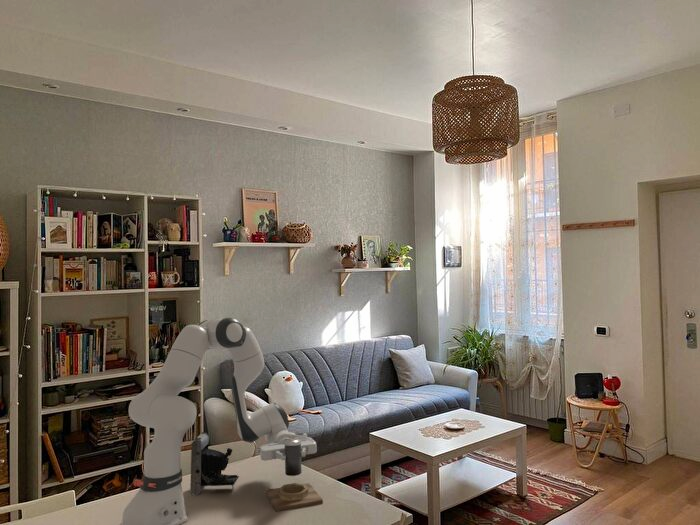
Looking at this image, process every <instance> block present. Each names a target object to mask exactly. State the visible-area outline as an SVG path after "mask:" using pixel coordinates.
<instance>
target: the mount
mask: <svg viewBox="0 0 700 525" xmlns="http://www.w3.org/2000/svg"><path fill="white" fill-rule="evenodd" d="M265 495H266V496H267V499H268V500H269V502H270V503H271V505H272V507H273V509H274V511H275V512H279V511H280V512H281V511H287V510H291V509H298V508H304V507H308V506H314V505H318V504H319V505H320V504H323V503H324V502H323V501H324V500H323V498H322V497H321V496H320V494H319V493H318V492H317V491H316V490H315V488H314V487H313V486H312V484H310V483H309V482H307V483H306V482H305V483H296V482H293V483H287V484H283V485H282V486H280V487H275V488H270V489H265Z"/></svg>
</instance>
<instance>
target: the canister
mask: <svg viewBox="0 0 700 525" xmlns="http://www.w3.org/2000/svg"><path fill="white" fill-rule="evenodd" d="M284 445H285V455H286V457H285V458H286V460H284V470H285V472H284V473H285V475H286V476H289V477H295V476H300V475H301V474H302V457H301V440H300V439H297V438H291V439H287V440H285V441H284Z"/></svg>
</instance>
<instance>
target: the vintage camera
mask: <svg viewBox="0 0 700 525" xmlns="http://www.w3.org/2000/svg"><path fill="white" fill-rule="evenodd" d="M209 439H210V436H209V434H208V433H207V432H204V431H201V433H200V434H199V435H198V436H197V437H196V438H194V440H193V441H192V443H191V450H190V451H191V454H190V493H191V495H192V496H198V495H199V494H200V493H201V492H202V491H203V489H204V488H205V487H218V486H219V487H221V486H232V491H234V486H235V484H236V483H237V481H238V479H239V478H240V475H238V474H223V473H222V471H223V472H224V471H226V468H227V467H228V464H229V460H230V458H229V457H230V456H231V455H232V452H233V448H230V447H228V448H226V452H225V453H223V452H222V451H219V450H215V449H211V448H209V442H210V440H209Z"/></svg>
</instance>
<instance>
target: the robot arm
mask: <svg viewBox="0 0 700 525" xmlns="http://www.w3.org/2000/svg"><path fill="white" fill-rule="evenodd" d="M179 332H180V333H179V334H178V336H176V339H175V340H174V343H173V344H172V345H171V349H170V350H169V352H168V354H167V357H166V359H165V361H164V363H163V365H162V367H161V369H160V371H159V372H158V374H157V376H156V377H155V378H154V380H152V382H151V383H150V384H149V385H148V386H147V388H145V389H144V390H142V392H141V393H139V394H136V395H135V396H134V397H133V398H132V400H131V401H130V402H129V406H128V416H129V418H130V420H132V421H133V422H134V423H136V424H138V425H140V426H142V427H147V428H151V429H154V430H153V431H154V435H153V439H152V441H151V442H150V443H149V444H147V446H146V447H145V448H144V452H143V456H144V458H143V459H144V460H143V466H144V467H143V468H144V469H143V470H144V472H143V475H142V478H141V479H138V478H136V479H134V481H133V486H134V487H139V490H138V491H137V492H136V493H135V495H134V496H133V497H132V499H131V500H130V502H128V504H127V505H126V506H125V508H124V509H123V512H122V520H121V522H120V523H119V524H118V525H181V524H183V523H185V522H186V521H188V516H187V510H186V507H185V499H184V493H183V492H184V491H183V489H182V481H183V470H182V468H181V457H182V456H181V455H182V444H183V439H184V436H185V434H186V433H187V432H188V430H189V429H191V427H192V426H193V425H194V423H195V421H196V418H197V412H198V411H197V408H196V407H197V406H196V405H195V403H194V402H193V401H191V400H190V399H187V398H186V397H183V396H179V394H180V393H181V392H182V391H183V390H184V389H185V388H188V387H190V386H191V385H192V383H193V382H194V381H195V378H196V376H197V373H198V371H199V368H200V366H201V364H202V361H203V359H204V356H205V353H206V352H207V350H224V349H226V350H227V351H229V354H230V356H231V359H232V362H233V366H234V370H233V371H234V372H233V375H232V376H231V377H230V389H231V390H230V391H231V395H232V400H233V405H234V412H235V418H236V422H237V423H236V426H237V433H238V436H239V437H240V439H241V440H242V441H243V442H244V443H249V444H253V443H254V442H256V441H257V440H259V439H260V438H262V437H264V438H265V440H266V444H264V443H263V444H261V445H260V446H259V447H258V448H257V449H256V452H257V453H258V454H259V456H260V460H261V461H265V462H266V461H272V460H281V461H285V460H286V458H285V457H286V455H285V445H284V441H285V440H287V439H291V438H297V439H300V440H301V458H305V457H306V455H312V454H316V453H317V451H318V447H317V446H318V445H317V442H316V441H315V440H314V439H313V438H312V437H310V436H308V434H307V433H306V432H292V431H289V430H288V429H289V424H290V421H289V417H288V415H287V412H286V411H285V409H284V408H283V407H282V405H280V404H279V403H277V402H271V403H269V404H267V405H264V406H263V407H261V408H258V409H256V410H255V411H253V412H250V413H248V412H247V411H248V410H247V405H246V401H245V400H246V399H245V393H246V390H248V387H249V386H250V385H251V384H252V383H253V382H255V380H256V379H257V378H258V377H259V376H260V375H261V373H262V372H263V370H264V368H265V358H264V355H263V351H262V349H261V346H260V344H259V342H258V340H257V338H256V335H255V334H254V332H253V331H252V330H251V328H249V327H247V326H244V325H243V324H242V322H240V321H239V320H238V319H236V318H233V317H224V318H219V317H216V318H211V319H205V320H203V321H201V322H199V323H198V324H188V325H186V326H184V327H183V328H182V329H181V331H179Z"/></svg>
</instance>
